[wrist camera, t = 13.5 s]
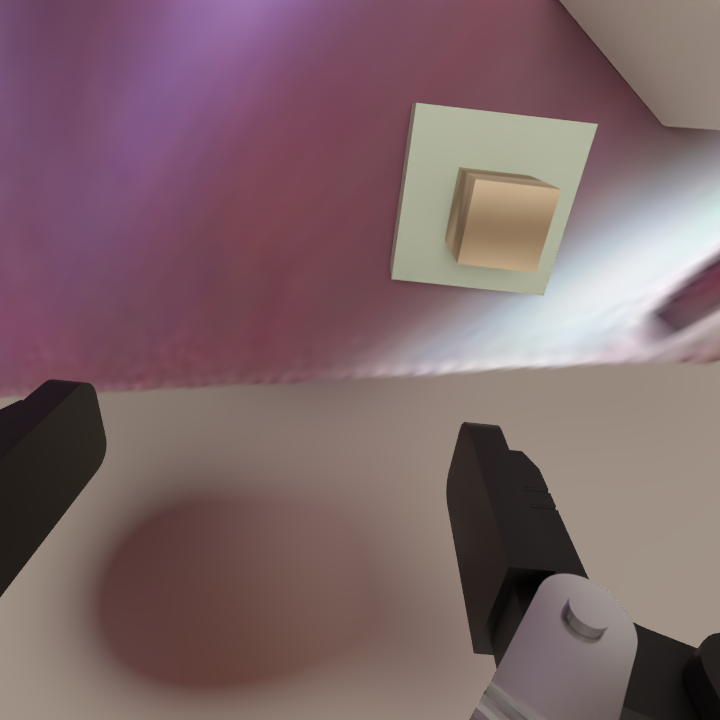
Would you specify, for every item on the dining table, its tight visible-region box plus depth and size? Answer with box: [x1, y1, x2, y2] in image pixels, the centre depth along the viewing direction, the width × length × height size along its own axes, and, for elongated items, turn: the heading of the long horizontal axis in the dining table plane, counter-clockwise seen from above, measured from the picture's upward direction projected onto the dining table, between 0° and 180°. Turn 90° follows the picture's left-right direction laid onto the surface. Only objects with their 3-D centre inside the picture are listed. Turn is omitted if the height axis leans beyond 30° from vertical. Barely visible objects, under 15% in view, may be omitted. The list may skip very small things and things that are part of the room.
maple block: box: [445, 167, 561, 273], centre depth 30 cm, size 5×5×6 cm
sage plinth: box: [390, 103, 598, 296], centre depth 34 cm, size 12×12×4 cm
